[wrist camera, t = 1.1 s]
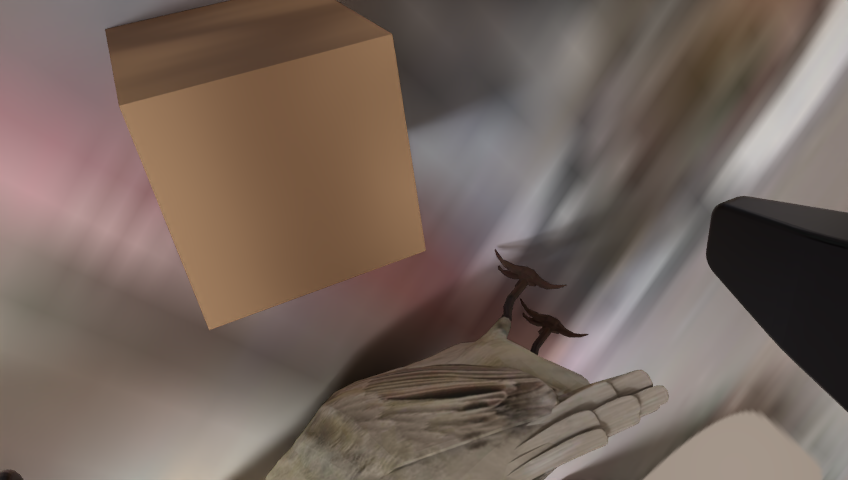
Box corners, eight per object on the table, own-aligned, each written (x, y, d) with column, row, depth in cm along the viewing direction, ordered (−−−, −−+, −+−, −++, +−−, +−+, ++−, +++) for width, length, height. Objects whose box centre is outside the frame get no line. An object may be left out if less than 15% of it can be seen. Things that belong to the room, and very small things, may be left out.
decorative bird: (128, 491, 23) (148, 713, 17) (510, 220, 24) (649, 339, 18) (223, 555, 26) (266, 759, 20) (553, 313, 28) (683, 438, 22)
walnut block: (174, 208, 19) (209, 329, 14) (105, 29, 16) (119, 105, 11) (342, 155, 20) (425, 250, 15) (305, -18, 17) (392, 33, 13)
